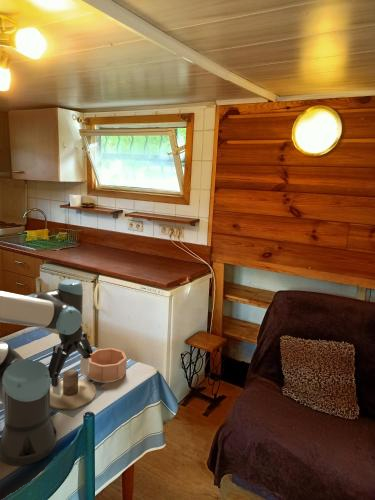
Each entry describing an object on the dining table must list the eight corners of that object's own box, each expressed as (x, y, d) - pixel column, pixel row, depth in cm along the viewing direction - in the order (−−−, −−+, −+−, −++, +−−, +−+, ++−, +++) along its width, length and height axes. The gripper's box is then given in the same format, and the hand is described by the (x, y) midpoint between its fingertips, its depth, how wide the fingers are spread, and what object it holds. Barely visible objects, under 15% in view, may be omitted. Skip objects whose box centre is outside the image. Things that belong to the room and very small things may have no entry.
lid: (73, 415, 117) (73, 392, 116) (33, 400, 124) (32, 378, 122) (105, 389, 132) (106, 368, 131) (68, 376, 139) (68, 356, 137)
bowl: (111, 387, 135) (111, 369, 133) (80, 376, 140) (80, 359, 139) (131, 370, 147) (132, 353, 146) (103, 361, 153) (103, 345, 151)
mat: (73, 418, 117) (73, 417, 116) (30, 401, 124) (30, 400, 123) (107, 390, 133) (107, 389, 133) (68, 376, 140) (68, 375, 140)
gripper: (51, 342, 110) (52, 406, 115) (102, 316, 133) (102, 370, 137) (32, 337, 113) (34, 399, 118) (86, 312, 136) (86, 365, 140)
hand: (71, 383), depth 127 cm, fingers open, 13 cm apart
